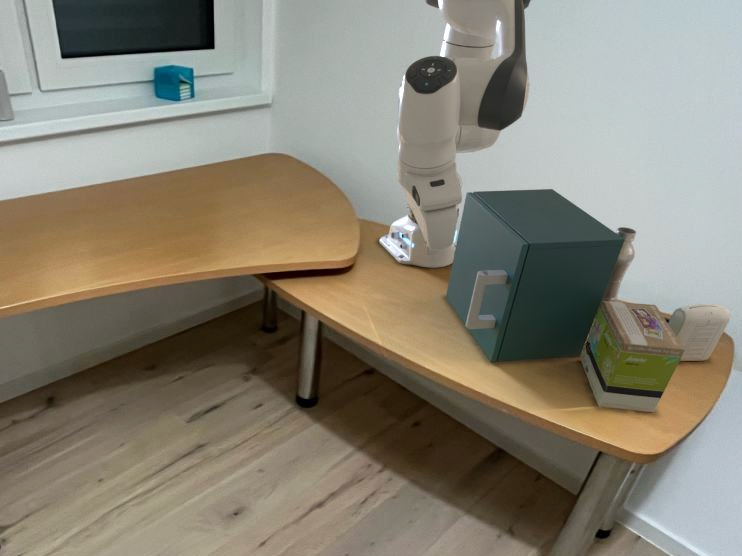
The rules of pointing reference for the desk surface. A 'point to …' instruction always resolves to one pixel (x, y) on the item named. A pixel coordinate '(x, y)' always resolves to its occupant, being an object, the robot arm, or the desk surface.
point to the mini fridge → (553, 273)
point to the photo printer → (699, 329)
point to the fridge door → (485, 274)
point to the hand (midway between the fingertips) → (422, 234)
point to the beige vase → (620, 264)
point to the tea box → (630, 356)
